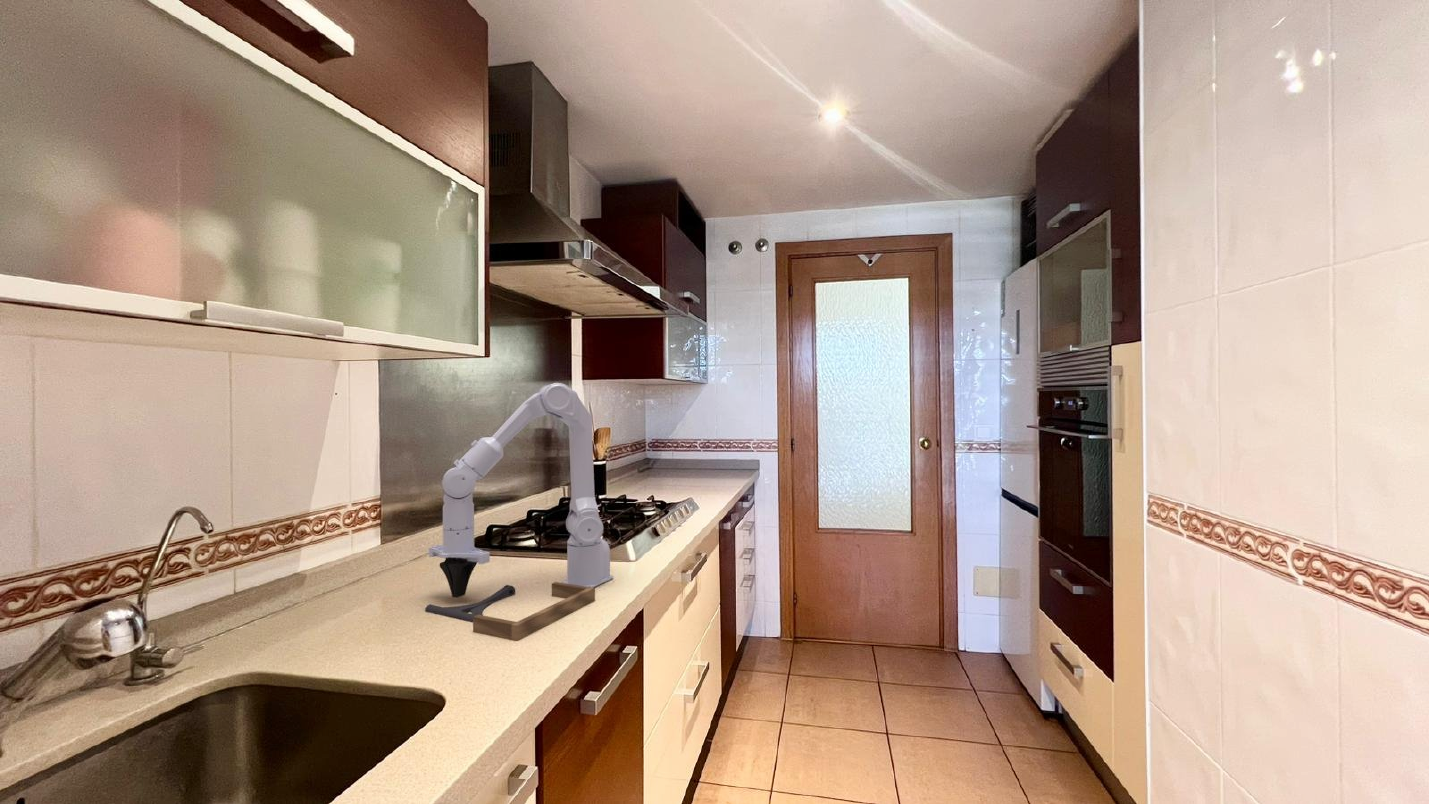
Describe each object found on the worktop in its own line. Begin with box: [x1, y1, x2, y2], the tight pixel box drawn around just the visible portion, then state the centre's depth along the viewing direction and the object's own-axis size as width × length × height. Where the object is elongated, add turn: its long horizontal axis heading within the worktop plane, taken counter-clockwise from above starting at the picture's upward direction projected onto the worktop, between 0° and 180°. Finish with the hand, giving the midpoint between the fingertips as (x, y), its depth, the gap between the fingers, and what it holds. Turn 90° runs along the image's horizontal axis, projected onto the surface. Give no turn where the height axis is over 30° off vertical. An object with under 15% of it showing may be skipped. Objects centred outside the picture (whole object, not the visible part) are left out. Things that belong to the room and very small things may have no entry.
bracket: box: [424, 584, 516, 623], centre depth 112 cm, size 14×15×3 cm
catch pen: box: [472, 581, 596, 642], centre depth 106 cm, size 21×10×2 cm, turn 156°
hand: (458, 595), depth 114 cm, fingers closed
